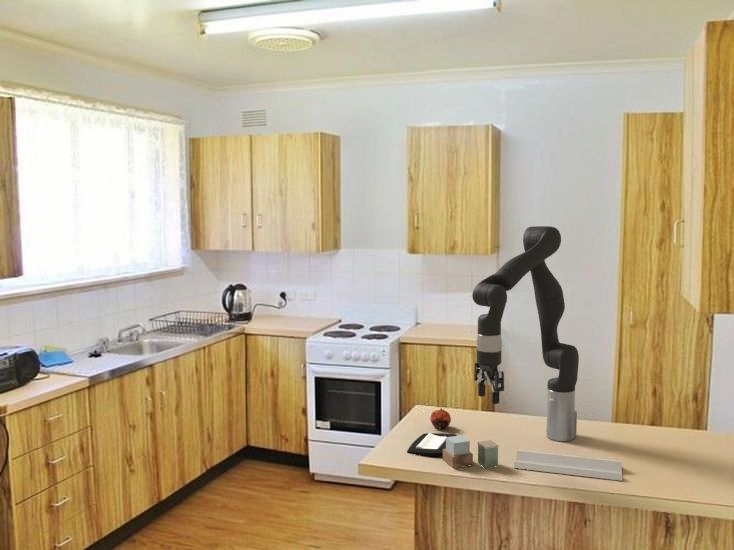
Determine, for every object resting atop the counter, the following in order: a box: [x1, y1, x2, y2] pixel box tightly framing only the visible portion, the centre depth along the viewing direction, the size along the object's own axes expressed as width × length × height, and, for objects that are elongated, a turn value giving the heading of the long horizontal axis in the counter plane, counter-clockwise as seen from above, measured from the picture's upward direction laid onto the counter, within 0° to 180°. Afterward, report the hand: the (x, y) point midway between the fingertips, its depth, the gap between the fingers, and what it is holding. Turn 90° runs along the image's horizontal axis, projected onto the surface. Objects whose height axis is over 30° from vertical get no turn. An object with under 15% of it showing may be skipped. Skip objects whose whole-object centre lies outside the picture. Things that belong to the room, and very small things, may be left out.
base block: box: [442, 449, 474, 469], centre depth 206 cm, size 7×7×4 cm
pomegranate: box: [429, 407, 452, 431], centre depth 238 cm, size 7×7×10 cm
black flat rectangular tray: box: [406, 432, 458, 457], centre depth 221 cm, size 20×3×14 cm
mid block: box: [446, 434, 471, 456], centre depth 206 cm, size 6×6×4 cm
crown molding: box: [513, 449, 623, 482], centre depth 202 cm, size 31×12×4 cm, turn 71°
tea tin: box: [477, 439, 500, 469], centre depth 204 cm, size 5×5×7 cm
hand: (488, 399), depth 202 cm, fingers open, 8 cm apart
